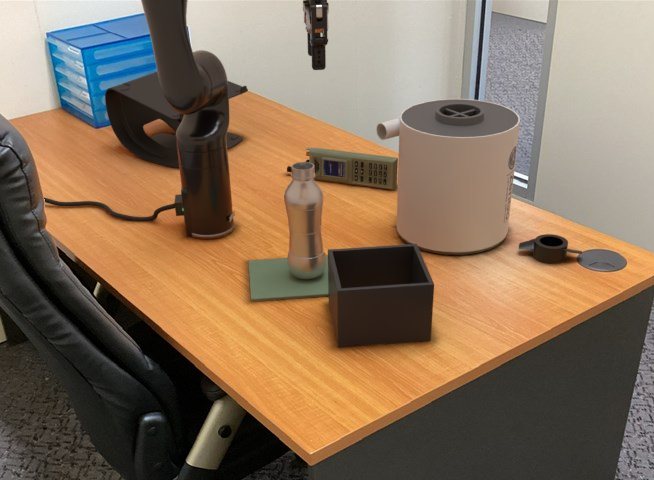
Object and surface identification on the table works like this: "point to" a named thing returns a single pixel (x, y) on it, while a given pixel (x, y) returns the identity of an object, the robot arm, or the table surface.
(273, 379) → the table surface
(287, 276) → the mat
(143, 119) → the laptop stand
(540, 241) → the black tabbed ring
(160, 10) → the robot arm
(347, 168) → the handheld radio
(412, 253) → the tote
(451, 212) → the humidifier
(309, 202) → the plastic bottle
